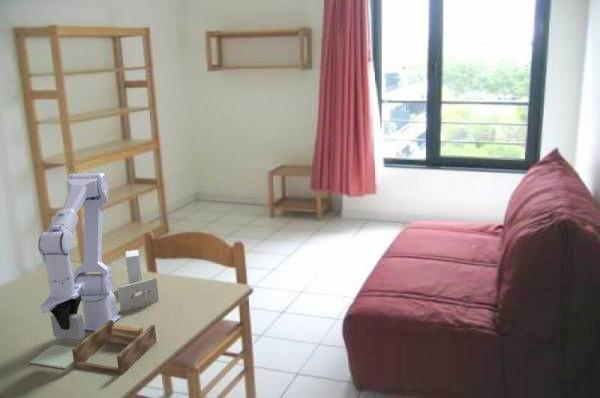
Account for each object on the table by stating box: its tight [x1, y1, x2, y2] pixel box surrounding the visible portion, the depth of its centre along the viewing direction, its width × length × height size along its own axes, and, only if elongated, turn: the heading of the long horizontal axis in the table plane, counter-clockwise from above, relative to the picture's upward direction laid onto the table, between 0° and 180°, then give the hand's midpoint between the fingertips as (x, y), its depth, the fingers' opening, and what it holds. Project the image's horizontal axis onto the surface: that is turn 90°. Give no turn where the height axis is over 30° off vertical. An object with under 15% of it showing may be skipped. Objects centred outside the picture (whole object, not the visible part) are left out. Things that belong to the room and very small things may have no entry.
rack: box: [72, 320, 157, 375], centre depth 152 cm, size 16×14×5 cm
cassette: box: [117, 277, 160, 312], centre depth 179 cm, size 12×2×8 cm, turn 124°
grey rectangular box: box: [50, 313, 86, 341], centre depth 149 cm, size 2×8×6 cm, turn 74°
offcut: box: [110, 323, 144, 346], centre depth 158 cm, size 2×9×4 cm, turn 73°
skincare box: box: [124, 249, 143, 285], centre depth 192 cm, size 6×4×12 cm
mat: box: [29, 344, 75, 370], centre depth 152 cm, size 9×11×1 cm
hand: (68, 326), depth 149 cm, fingers closed on grey rectangular box, 2 cm apart
